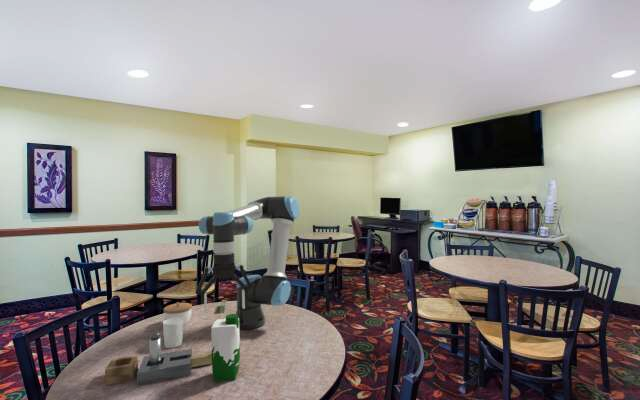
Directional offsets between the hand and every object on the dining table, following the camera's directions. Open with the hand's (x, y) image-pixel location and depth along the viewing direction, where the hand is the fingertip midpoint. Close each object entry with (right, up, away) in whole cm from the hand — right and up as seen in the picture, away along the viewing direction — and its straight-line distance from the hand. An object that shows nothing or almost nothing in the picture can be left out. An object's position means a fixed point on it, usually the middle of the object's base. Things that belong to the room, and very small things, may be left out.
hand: (224, 309), depth 118 cm
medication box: (-18, -21, +58) cm, 64 cm away
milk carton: (+4, -19, -11) cm, 22 cm away
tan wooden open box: (-32, -19, -10) cm, 39 cm away
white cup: (-26, -20, +15) cm, 36 cm away
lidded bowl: (-34, -20, +36) cm, 53 cm away
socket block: (-19, -19, -7) cm, 28 cm away
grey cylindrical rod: (-22, -19, -8) cm, 30 cm away
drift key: (-8, -19, -3) cm, 21 cm away
